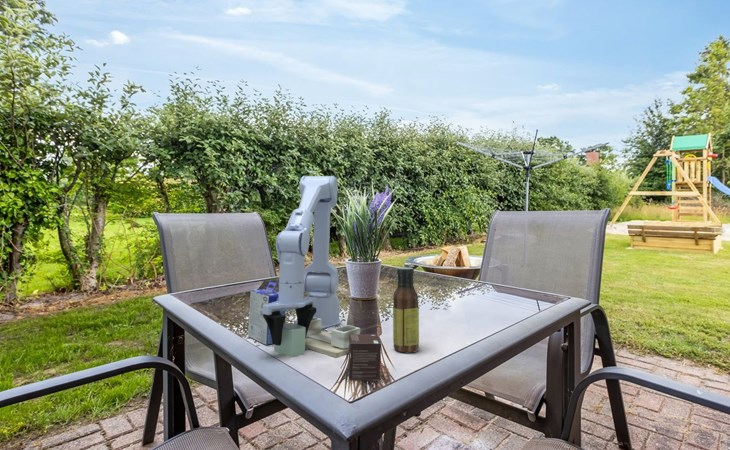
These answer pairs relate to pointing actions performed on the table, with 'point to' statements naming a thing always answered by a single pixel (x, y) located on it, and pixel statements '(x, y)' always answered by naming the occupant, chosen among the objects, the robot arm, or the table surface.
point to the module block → (292, 340)
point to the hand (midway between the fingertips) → (289, 340)
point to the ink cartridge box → (256, 320)
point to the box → (364, 357)
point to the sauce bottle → (405, 313)
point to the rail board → (328, 338)
